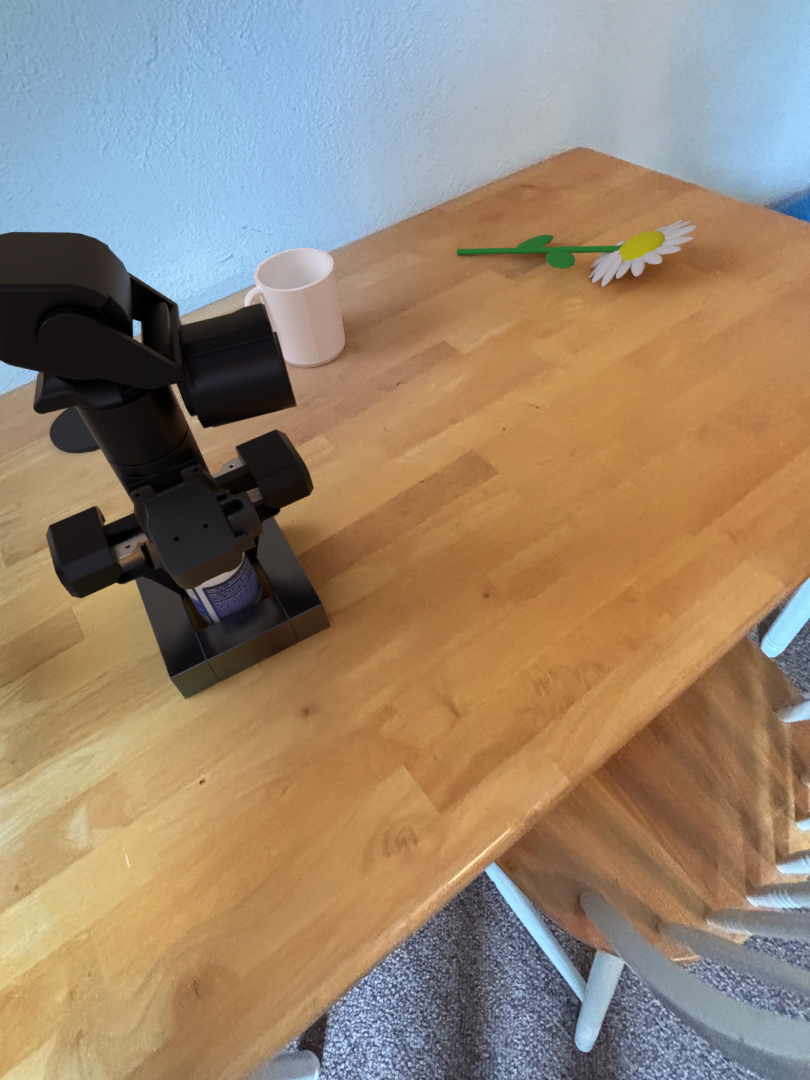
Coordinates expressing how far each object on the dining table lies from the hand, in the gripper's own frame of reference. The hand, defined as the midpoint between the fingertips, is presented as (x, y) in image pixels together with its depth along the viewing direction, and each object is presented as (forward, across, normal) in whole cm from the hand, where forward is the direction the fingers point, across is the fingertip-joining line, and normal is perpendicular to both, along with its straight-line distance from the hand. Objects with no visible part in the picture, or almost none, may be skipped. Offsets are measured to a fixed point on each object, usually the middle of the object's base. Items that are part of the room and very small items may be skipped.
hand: (218, 576), depth 59 cm
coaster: (+4, -6, +33) cm, 34 cm away
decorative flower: (+5, +55, +27) cm, 61 cm away
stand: (+4, 0, 0) cm, 4 cm away
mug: (+5, +20, +31) cm, 37 cm away
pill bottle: (+5, 0, 0) cm, 5 cm away
